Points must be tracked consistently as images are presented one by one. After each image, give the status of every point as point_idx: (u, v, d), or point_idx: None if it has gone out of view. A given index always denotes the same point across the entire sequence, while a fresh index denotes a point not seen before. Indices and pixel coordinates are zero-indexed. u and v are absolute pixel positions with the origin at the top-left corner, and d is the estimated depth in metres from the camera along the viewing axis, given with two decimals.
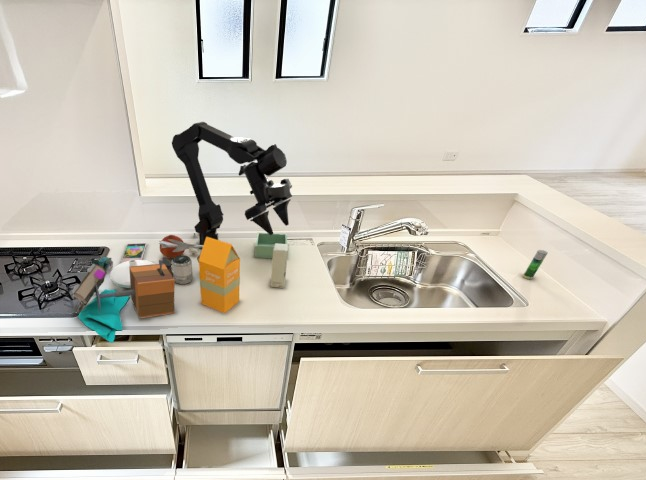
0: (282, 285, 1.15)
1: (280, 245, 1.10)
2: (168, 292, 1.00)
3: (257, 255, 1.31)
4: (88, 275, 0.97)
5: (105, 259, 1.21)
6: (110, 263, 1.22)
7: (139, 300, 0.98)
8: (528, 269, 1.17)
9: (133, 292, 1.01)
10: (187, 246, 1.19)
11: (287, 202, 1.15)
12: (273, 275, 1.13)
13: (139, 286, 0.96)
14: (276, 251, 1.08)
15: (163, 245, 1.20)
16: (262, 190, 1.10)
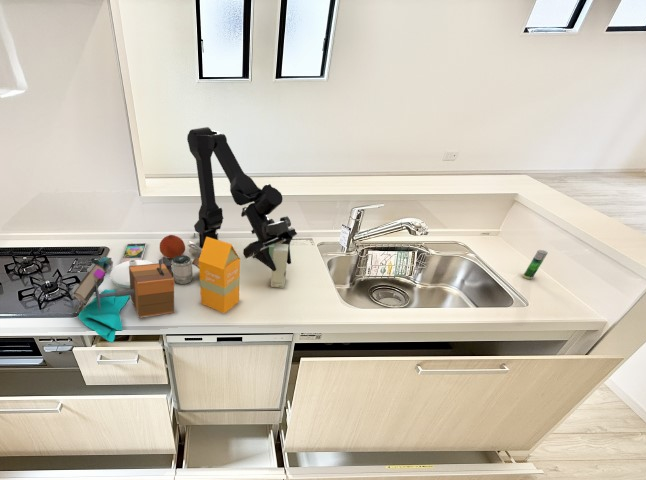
0: (282, 285, 1.15)
1: (280, 245, 1.10)
2: (168, 291, 1.01)
3: None
4: (88, 275, 0.97)
5: (105, 259, 1.21)
6: (110, 263, 1.22)
7: (139, 299, 0.98)
8: (528, 269, 1.17)
9: (133, 291, 1.01)
10: None
11: (288, 241, 1.12)
12: (273, 275, 1.13)
13: (139, 285, 0.96)
14: (276, 251, 1.08)
15: None
16: (261, 229, 1.09)
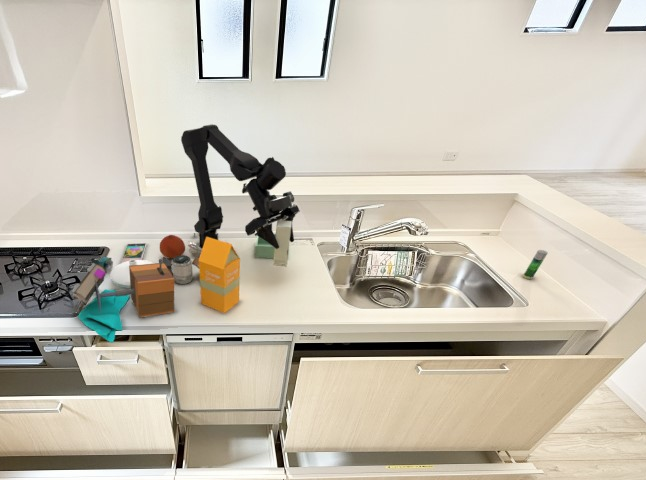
0: (285, 264, 1.12)
1: (283, 222, 1.07)
2: (168, 291, 1.01)
3: (257, 255, 1.31)
4: (88, 274, 0.97)
5: (105, 259, 1.21)
6: (110, 263, 1.22)
7: (139, 299, 0.98)
8: (528, 269, 1.17)
9: (133, 291, 1.01)
10: None
11: (291, 217, 1.09)
12: (276, 253, 1.10)
13: (139, 285, 0.96)
14: (279, 228, 1.05)
15: None
16: (263, 205, 1.06)
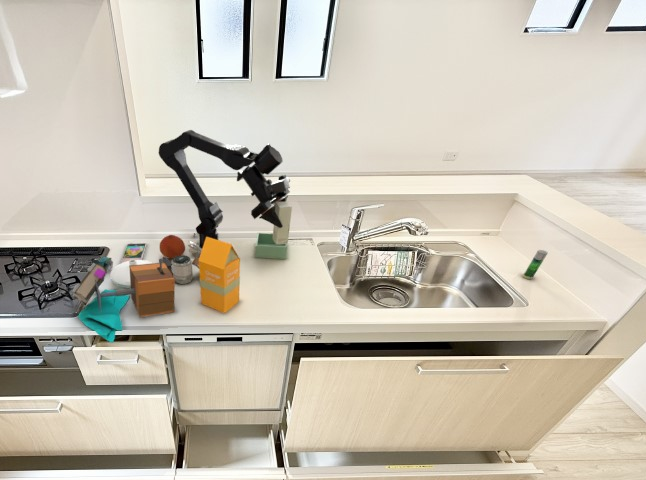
0: (286, 241, 1.23)
1: (282, 203, 1.17)
2: (168, 291, 1.01)
3: (257, 255, 1.31)
4: (88, 274, 0.97)
5: (105, 259, 1.21)
6: (110, 263, 1.22)
7: (139, 299, 0.99)
8: (528, 269, 1.17)
9: (133, 291, 1.01)
10: None
11: (285, 198, 1.20)
12: (279, 232, 1.20)
13: (139, 285, 0.96)
14: (282, 208, 1.15)
15: None
16: (263, 189, 1.15)
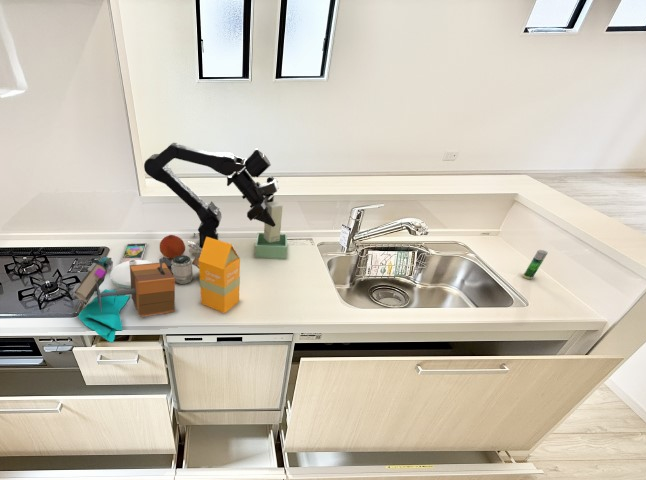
0: (278, 238, 1.30)
1: (272, 203, 1.25)
2: (168, 291, 1.01)
3: (257, 255, 1.31)
4: (89, 274, 0.98)
5: (105, 259, 1.21)
6: (110, 263, 1.22)
7: (140, 299, 0.99)
8: (528, 269, 1.17)
9: (134, 291, 1.02)
10: None
11: (273, 199, 1.28)
12: (271, 231, 1.27)
13: (140, 285, 0.96)
14: (274, 208, 1.22)
15: None
16: (254, 191, 1.21)
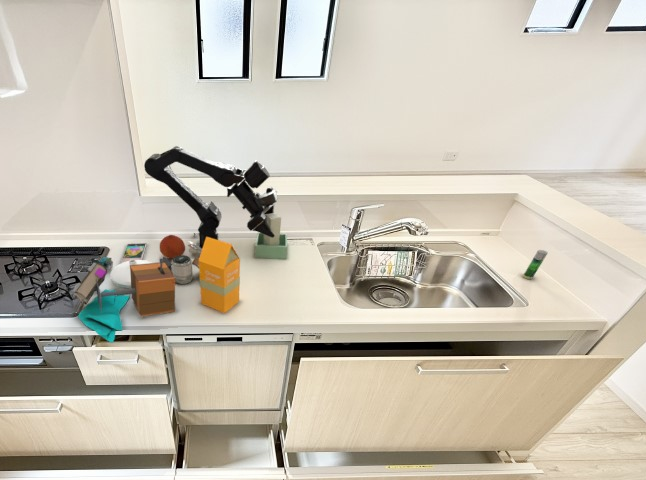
0: None
1: (271, 214, 1.27)
2: (169, 290, 1.01)
3: (257, 255, 1.31)
4: (89, 274, 0.98)
5: (105, 259, 1.21)
6: (110, 263, 1.22)
7: (140, 298, 0.99)
8: (528, 269, 1.17)
9: (134, 290, 1.02)
10: None
11: (273, 207, 1.31)
12: (271, 242, 1.30)
13: (140, 284, 0.96)
14: (273, 219, 1.25)
15: None
16: (254, 202, 1.24)
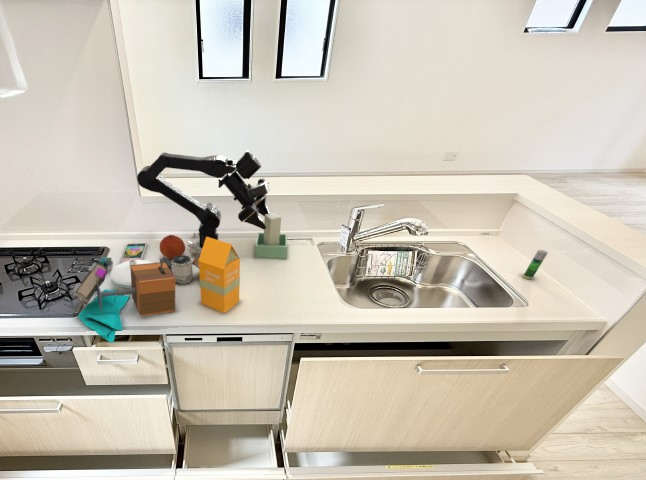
0: None
1: (271, 214, 1.27)
2: (169, 290, 1.01)
3: (257, 255, 1.31)
4: (89, 274, 0.98)
5: (105, 259, 1.21)
6: (110, 263, 1.22)
7: (140, 298, 0.99)
8: (528, 269, 1.17)
9: (134, 290, 1.02)
10: None
11: (265, 199, 1.30)
12: (271, 242, 1.30)
13: (140, 284, 0.96)
14: (273, 219, 1.25)
15: None
16: (245, 193, 1.23)
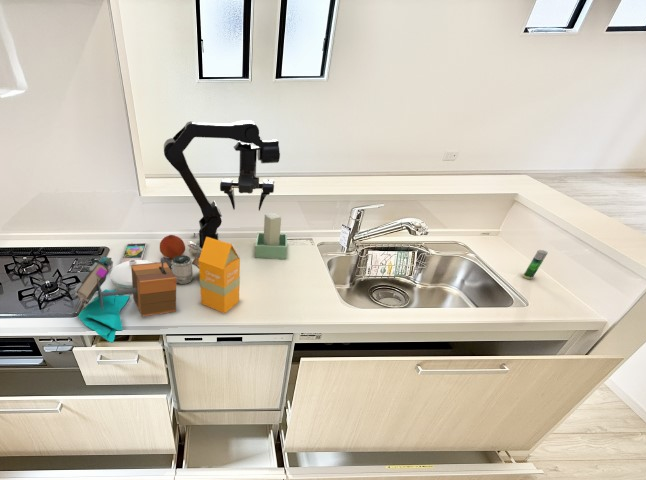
0: None
1: (271, 214, 1.27)
2: (170, 290, 1.01)
3: (257, 255, 1.31)
4: (90, 273, 0.98)
5: (105, 259, 1.21)
6: (110, 263, 1.22)
7: (141, 298, 0.99)
8: (528, 269, 1.17)
9: (135, 290, 1.02)
10: None
11: (263, 194, 1.26)
12: (271, 242, 1.30)
13: (141, 284, 0.96)
14: (273, 219, 1.25)
15: None
16: None
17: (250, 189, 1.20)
